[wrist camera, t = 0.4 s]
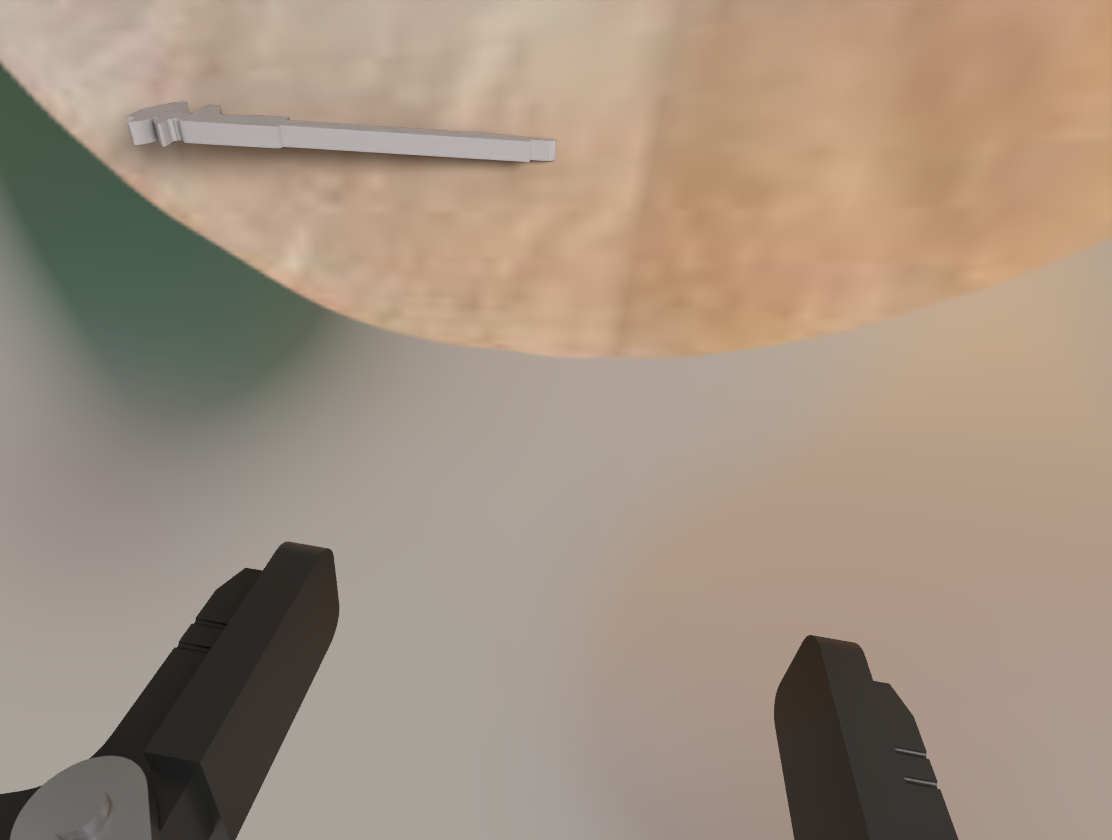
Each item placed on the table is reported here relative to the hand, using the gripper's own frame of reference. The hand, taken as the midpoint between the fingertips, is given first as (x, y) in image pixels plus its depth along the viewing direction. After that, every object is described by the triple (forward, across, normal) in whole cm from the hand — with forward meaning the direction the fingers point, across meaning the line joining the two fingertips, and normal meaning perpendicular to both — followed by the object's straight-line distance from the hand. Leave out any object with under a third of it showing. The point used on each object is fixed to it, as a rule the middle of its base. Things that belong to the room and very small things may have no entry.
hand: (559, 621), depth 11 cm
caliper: (+29, +14, -1) cm, 32 cm away
